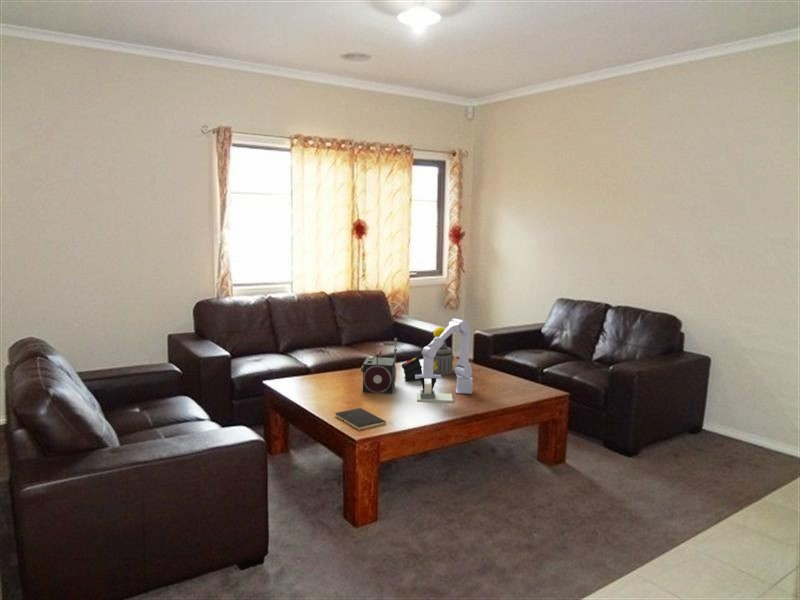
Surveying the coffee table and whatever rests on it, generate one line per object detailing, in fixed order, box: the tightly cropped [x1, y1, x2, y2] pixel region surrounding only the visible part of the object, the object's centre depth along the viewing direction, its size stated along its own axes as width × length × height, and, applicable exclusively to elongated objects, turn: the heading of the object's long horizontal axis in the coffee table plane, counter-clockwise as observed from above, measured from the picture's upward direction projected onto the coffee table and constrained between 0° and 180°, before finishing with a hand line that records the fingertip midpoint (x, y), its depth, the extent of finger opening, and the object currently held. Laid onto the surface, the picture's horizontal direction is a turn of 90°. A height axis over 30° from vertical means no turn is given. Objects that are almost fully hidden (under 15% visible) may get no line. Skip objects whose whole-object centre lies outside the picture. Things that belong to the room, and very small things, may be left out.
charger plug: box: [424, 382, 432, 394], centre depth 336 cm, size 4×4×6 cm
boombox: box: [360, 337, 398, 395], centre depth 350 cm, size 18×21×30 cm
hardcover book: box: [335, 407, 387, 431], centre depth 300 cm, size 16×23×2 cm
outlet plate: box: [416, 389, 454, 403], centre depth 337 cm, size 20×12×4 cm, turn 89°
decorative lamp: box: [433, 326, 455, 376], centre depth 391 cm, size 19×19×30 cm
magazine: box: [401, 356, 423, 383], centre depth 370 cm, size 4×13×15 cm, turn 110°
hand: (427, 391), depth 336 cm, fingers closed on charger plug, 4 cm apart
